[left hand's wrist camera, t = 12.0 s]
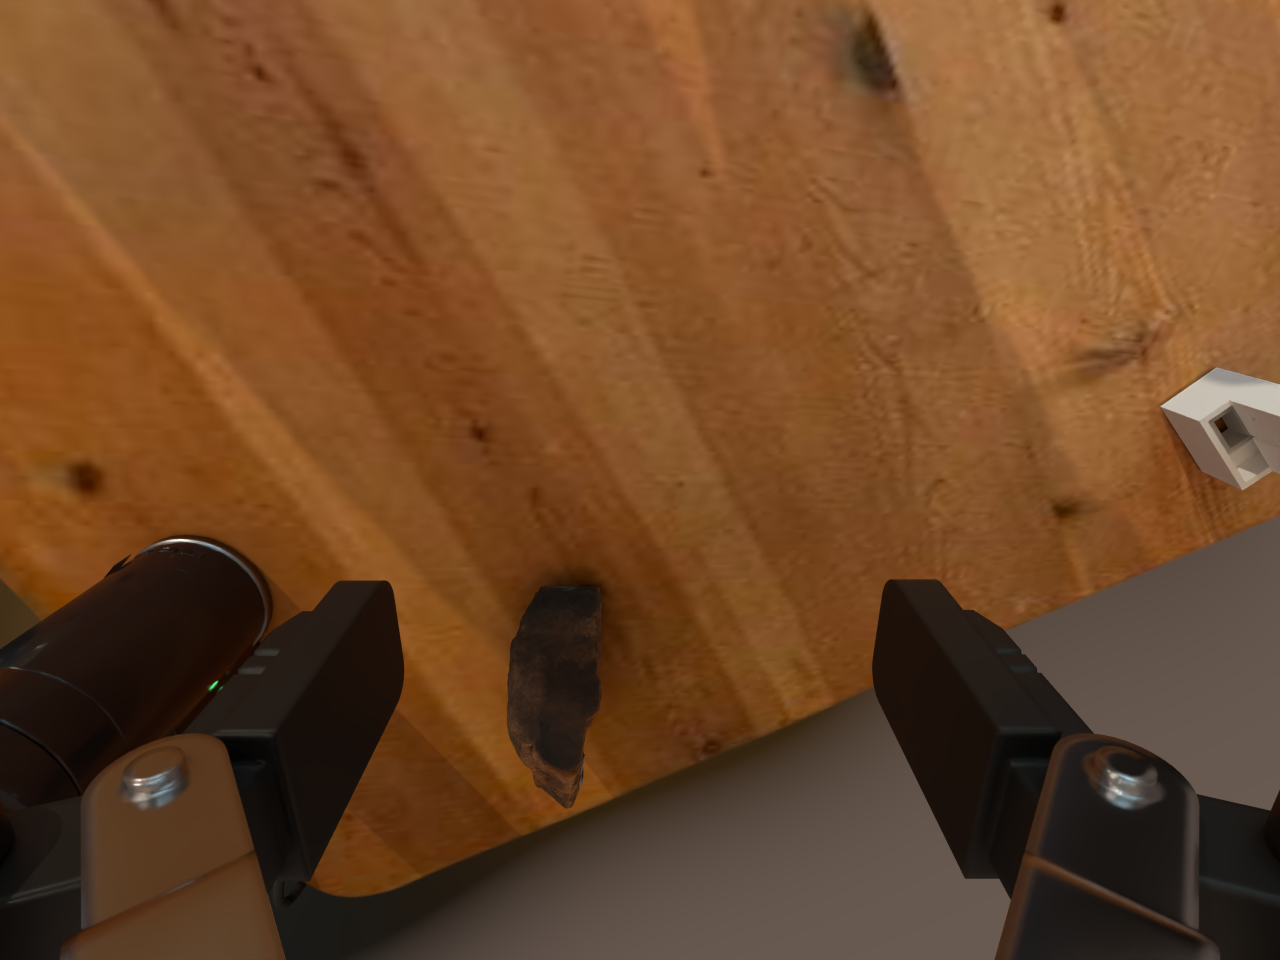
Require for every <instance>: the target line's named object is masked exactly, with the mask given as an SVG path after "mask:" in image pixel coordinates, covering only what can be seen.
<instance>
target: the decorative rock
mask: <svg viewBox="0 0 1280 960" xmlns="http://www.w3.org/2000/svg"><path fill="white" fill-rule="evenodd" d="M601 628H602V599H601V594H600V589H599V587H574V586H566V587H565V586H551V587H549V586H545V587H541V588H540V590H539V592H537V593H536V595H535V597H534V599H533V601H532V602H531V604H530V605H529V606H528V608H527V610H526V612H525V614H524V615H523V617H522V620H521V621H520V628H519V630H518V632H517V635H516V637H515V638H514V639H513V640H512V643H511V648H510V665H509V673H508V683H507V684H508V705H507V727H508V734H509V737H510V740H511V742H512V744H513V747H514V749H515V751H516V753H517V754H518V756H519V758H520V759H521V761H522V762H523V763H524V765H525V766H527V767H529V768H530V769H531V770H532V772H533V777H534V782H535V785H536V786H537V787H538V788H542V789H543V790H544V791H545V792H546V793H548V794H549V795H551V796H552V797H553V798H554V799H555V800H556V801H557V802H558V803H559V804H561V805H562V806H563V807H565V808H566V809H567V808H571V807H572V806H573V804H574V802H575V799H576V796H577V793H578V791H579V789H580V787H581V785H582V783H583V763H584V760H583V759H584V756H585V755H584V753H583V746H584V741H585V734H586V730H587V729H588V728H589V727H590V726H591V724H592V722H593V719H594V718H595V717H596V716H597V714H598V713H599V706H600V701H601V681H600V679H599V677H598V674H599V669H600V654H601V649H602V635H601Z"/></svg>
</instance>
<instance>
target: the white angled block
mask: <svg viewBox="0 0 1280 960" xmlns="http://www.w3.org/2000/svg"><path fill="white" fill-rule="evenodd" d="M1160 407H1161V409H1162V410H1163V412H1164V413H1165V415H1166V416H1167V418H1168V419H1169V421H1170V423H1171V424H1172V426H1173V427H1174V429H1175V430H1176V432H1177V433H1178V435H1179V437H1180V438H1181V440H1182V441H1183V443H1184V444H1185V446H1186V447H1187V449H1188V451H1189V452H1190V454H1191V455H1192V457H1193V458H1194V460H1195V462H1196V463H1197V465H1198V466H1199V468H1200V469H1201V471H1202V472H1204V473H1206V474H1208V475H1210V476H1212V477H1215V478H1217V479H1219V480H1221V481H1223V482H1225V483H1228V484H1230V485H1232V486H1234V487H1236V488H1238V489H1241V490H1244V489H1245V488H1247V487H1248V486H1250V485H1252V484H1253V483H1255V482H1256V481H1258V480H1259V479H1261V478H1262V477H1264V476H1265V475H1267V474H1269V473H1270V472H1272V471H1273V472H1275V473H1278V474H1280V384H1276V383H1273V382H1269V381H1265V380H1262V379H1258V378H1254V377H1250V376H1247V375H1243V374H1239V373H1236V372H1232V371H1228V370H1224V369H1221V368H1217V367H1216V368H1215V369H1213V370H1212V371H1210V372H1209V373H1208V374H1206V375H1205V376H1203V377H1202V378H1200V379H1199V380H1198V381H1196V382H1195V383H1193V384H1192V385H1190V386H1189V387H1188V388H1186V389H1185V390H1183V391H1182V392H1180V393H1179V394H1178V395H1176V396H1175V397H1173V398H1172V399H1170V400H1169V401H1168V402H1166V403H1165V404H1163V405H1162V406H1160ZM1220 417H1221V418H1222V419H1223V421H1224V423H1225V424H1226V426H1227V428H1228V429H1227V430H1225V431H1224V432H1222V433H1220V431H1219V429H1218V428H1217V426H1216V425H1215V423H1214V422H1215V421H1216V420H1217V419H1219V418H1220Z"/></svg>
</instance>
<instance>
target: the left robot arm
mask: <svg viewBox="0 0 1280 960" xmlns="http://www.w3.org/2000/svg"><path fill="white" fill-rule="evenodd" d="M130 555H131V554H130ZM130 555H129V556H130ZM129 556H128V557H126V558H125V559H123V560H122V561H120V562H119V563H117V564H116V565H114V566H113V567H112V569H111V570H110V571H109V572H108V574H107V575H106V576H105V577H104V579H102V580H101V581H99V582H98V583H97V584H95V585H94V586H92V587H91V588H89V589H88V590H86V591H85V592H83V593H82V594H80V595H79V596H78V597H76V598H75V599H73V600H72V601H70V602H69V603H67V604H66V605H64V606H63V607H61V608H60V609H58V610H57V611H56V612H54V613H53V614H51V615H50V616H48V617H47V618H45V619H44V620H42V621H41V622H39V623H38V624H36V625H35V626H34V627H32V628H31V629H29V630H28V631H26V632H25V633H23V634H22V635H20V636H19V637H17V638H16V639H14V640H13V641H12V642H10V643H9V644H7V645H6V646H4V647H3V648H1V649H0V960H285V956H284V953H283V949H282V945H281V942H280V938H279V935H278V931H277V927H276V924H275V920H274V917H273V913H272V909H271V906H270V902H269V899H268V893H269V891H270V889H271V888H272V886H273V901H274V904H275V906H276V907H279V908H285V907H288V906H290V905H291V904H292V903H293V902H294V901H295V900H296V899H297V898H298V896H299V895H300V894H301V892H302V891H303V889H304V888H305V886H306V885H307V883H305V882H304V881H310V879H311V877H312V875H313V873H314V871H315V869H316V867H317V865H318V863H319V861H320V859H321V857H322V855H323V853H324V851H325V849H326V847H327V845H328V843H329V841H330V839H331V837H332V835H333V833H334V831H335V829H336V827H337V825H338V823H339V821H340V819H341V817H342V815H343V813H344V811H345V809H346V807H347V805H348V803H349V801H350V799H351V796H352V794H353V792H354V790H355V788H356V786H357V784H358V782H359V780H360V778H361V776H362V774H363V772H364V770H365V768H366V766H367V764H368V762H369V760H370V758H371V756H372V754H373V752H374V750H375V748H376V746H377V744H378V742H379V740H380V738H381V736H382V734H383V732H384V730H385V728H386V726H387V724H388V722H389V720H390V718H391V716H392V714H393V712H394V709H395V707H396V705H397V703H398V701H399V698H400V695H401V692H402V687H403V680H404V660H403V653H402V646H401V639H400V632H399V626H398V619H397V612H396V605H395V599H394V593H393V589H392V587H391V585H390V583H389V582H388V581H338V582H336V583H335V584H334V586H333V587H332V588H331V589H330V590H329V592H328V593H327V594H326V595H325V597H324V598H323V599H322V600H321V601H320V603H319V604H318V605H317V606H316V607H315V609H314V610H313V611H302V612H301V613H299V614H298V615H296V616H294V617H293V618H291V619H290V620H288V621H286V622H285V623H283V624H282V625H280V626H279V627H277V628H275V629H274V630H273V631H272V632H271V633H270V634H269V635H268V636H267V637H266V639H265V640H264V641H263V642H262V643H261V644H260V645H259V639H260V638H261V637H262V636H263V634H264V633H265V631H266V630H267V627H268V625H269V622H270V619H271V613H272V604H271V597H270V594H269V590H268V588H267V585H266V583H265V581H264V580H263V578H262V576H261V575H260V573H259V572H258V571H257V569H256V568H255V567H254V566H253V565H252V564H251V563H250V562H249V561H248V560H247V559H246V558H245V557H244V556H242V555H241V554H240V553H238V552H237V551H235V550H234V549H232V548H230V547H229V546H227V545H224V544H222V543H220V542H218V541H215V540H212V539H209V538H205V537H200V536H192V535H179V536H172V537H168V538H164V539H161V540H159V541H157V542H155V543H153V544H151V545H150V546H148V547H147V548H145V549H144V550H142V551H141V552H140V553H139V554H137V555H136V557H134V559H132V560H131V561H129V562H128V563H126V564H125V565H124V566H122V565H123V564H124V563H125V561H126V560H127V559H128V558H129ZM121 566H122V567H121ZM872 674H873V683H874V689H875V693H876V696H877V699H878V701H879V703H880V705H881V707H882V709H883V711H884V714H885V716H886V718H887V720H888V722H889V724H890V726H891V728H892V730H893V732H894V734H895V736H896V738H897V740H898V742H899V744H900V746H901V748H902V750H903V752H904V755H905V757H906V759H907V761H908V763H909V765H910V767H911V769H912V771H913V773H914V775H915V777H916V779H917V781H918V783H919V785H920V787H921V789H922V791H923V793H924V795H925V798H926V799H927V802H928V804H929V806H930V808H931V810H932V812H933V814H934V816H935V818H936V820H937V822H938V824H939V826H940V828H941V830H942V832H943V834H944V836H945V838H946V840H947V843H948V845H949V847H950V849H951V851H952V853H953V855H954V857H955V859H956V861H957V863H958V865H959V867H960V869H961V871H962V873H963V875H964V877H965V878H966V879H1000V881H1001V883H1002V884H1003V886H1004V888H1005V890H1006V892H1007V894H1008V895H1009V897H1010V899H1011V902H1010V906H1009V909H1008V913H1007V916H1006V920H1005V924H1004V927H1003V931H1002V935H1001V938H1000V942H999V945H998V949H997V953H996V956H995V960H1280V791H1279V793H1278V795H1277V798H1276V800H1275V802H1274V804H1273V807H1272V809H1271V811H1270V810H1265V809H1261V808H1256V807H1252V806H1247V805H1243V804H1238V803H1234V802H1229V801H1225V800H1221V799H1216V798H1211V797H1207V796H1203V795H1198V794H1196V793H1195V790H1194V789H1193V787H1192V786H1191V785H1190V783H1189V782H1188V781H1187V780H1186V778H1185V777H1184V776H1183V775H1182V774H1181V773H1180V772H1179V771H1177V770H1176V769H1175V768H1174V767H1173V766H1172V765H1170V764H1169V763H1167V762H1166V761H1165V760H1163V759H1162V758H1160V757H1158V756H1157V755H1155V754H1153V753H1152V752H1150V751H1148V750H1146V749H1144V748H1142V747H1140V746H1137V745H1135V744H1132V743H1130V742H1127V741H1124V740H1121V739H1118V738H1115V737H1110V736H1106V735H1100V734H1094V733H1093V732H1092V731H1091V730H1090V729H1089V727H1088V726H1087V725H1086V724H1085V723H1084V722H1083V720H1082V719H1081V718H1080V717H1079V716H1078V715H1077V714H1076V712H1075V711H1074V710H1073V709H1072V708H1071V707H1070V706H1069V704H1068V703H1067V702H1066V701H1065V700H1064V699H1063V698H1062V696H1061V695H1060V694H1059V693H1058V692H1057V691H1056V689H1055V688H1054V687H1053V686H1052V685H1051V684H1050V683H1049V681H1048V680H1047V679H1046V678H1045V677H1044V676H1043V675H1042V673H1037V668H1036V667H1035V665H1034V664H1033V663H1032V662H1031V661H1030V660H1029V659H1028V657H1027V656H1026V655H1025V654H1021V649H1020V648H1019V647H1018V646H1017V645H1016V644H1015V642H1014V641H1013V640H1012V639H1011V638H1010V637H1009V636H1008V634H1007V633H1006V632H1005V631H1004V630H1003V629H1002V628H1001V627H999V626H998V625H996V624H994V623H993V622H991V621H990V620H988V619H986V618H985V617H983V616H982V615H980V614H979V613H977V612H975V611H974V610H963V609H962V608H961V607H960V605H959V604H958V603H957V602H956V601H955V599H954V598H953V597H952V596H951V594H950V593H949V592H948V591H947V589H946V588H945V587H944V586H943V585H942V583H941V582H940V581H938V580H935V579H891V580H888V581H887V582H886V584H885V586H884V589H883V593H882V599H881V606H880V613H879V620H878V627H877V634H876V641H875V648H874V654H873V663H872ZM284 881H299V882H298V883H297V885H296V886H295V887H294V889H293V890H292V891H291V892H290V894H289V895H288V896H286V897H284ZM273 884H274V885H273Z"/></svg>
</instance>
